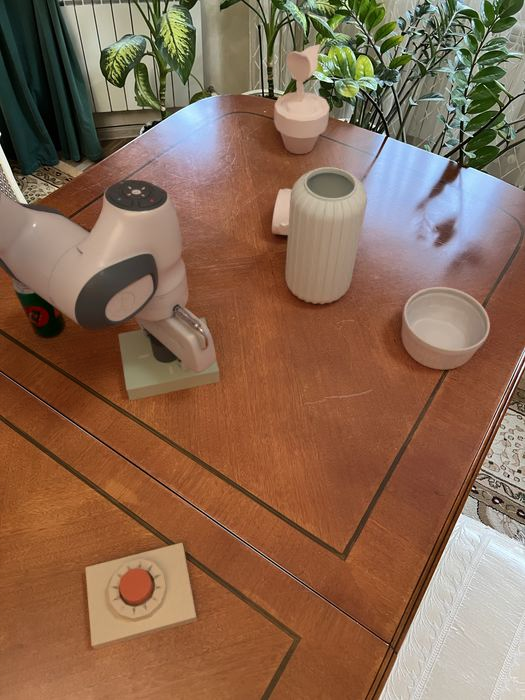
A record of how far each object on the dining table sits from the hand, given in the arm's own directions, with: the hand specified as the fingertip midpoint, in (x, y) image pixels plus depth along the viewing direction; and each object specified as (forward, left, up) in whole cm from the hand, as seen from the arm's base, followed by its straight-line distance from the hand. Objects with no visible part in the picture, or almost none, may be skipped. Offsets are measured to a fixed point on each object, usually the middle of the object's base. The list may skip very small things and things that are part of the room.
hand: (167, 349), depth 88 cm
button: (-9, -34, 0) cm, 35 cm away
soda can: (-18, +12, -4) cm, 22 cm away
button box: (-9, -34, -4) cm, 35 cm away
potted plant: (+38, +52, -4) cm, 64 cm away
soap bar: (+30, +26, -4) cm, 40 cm away
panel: (0, 0, -4) cm, 4 cm away
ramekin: (+43, -7, -4) cm, 44 cm away
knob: (0, 0, 0) cm, 0 cm away
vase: (+28, +10, -4) cm, 30 cm away
